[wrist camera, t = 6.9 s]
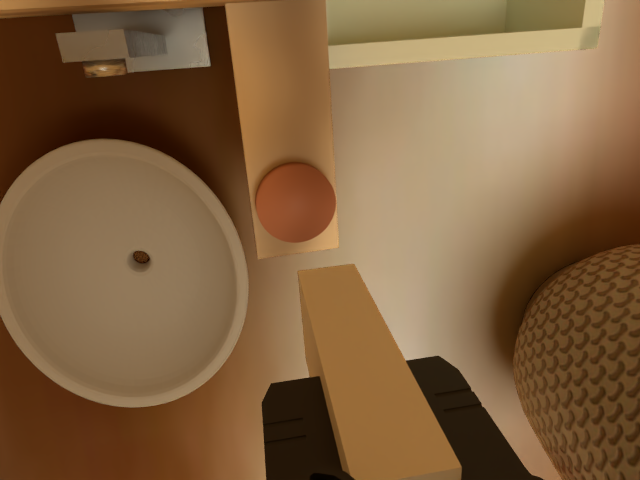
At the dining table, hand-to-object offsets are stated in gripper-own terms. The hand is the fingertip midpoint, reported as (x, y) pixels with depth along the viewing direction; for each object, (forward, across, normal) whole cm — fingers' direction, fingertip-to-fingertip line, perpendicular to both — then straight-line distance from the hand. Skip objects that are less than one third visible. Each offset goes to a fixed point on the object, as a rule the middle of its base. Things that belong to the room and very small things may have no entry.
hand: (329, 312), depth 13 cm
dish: (+21, -10, -6) cm, 24 cm away
